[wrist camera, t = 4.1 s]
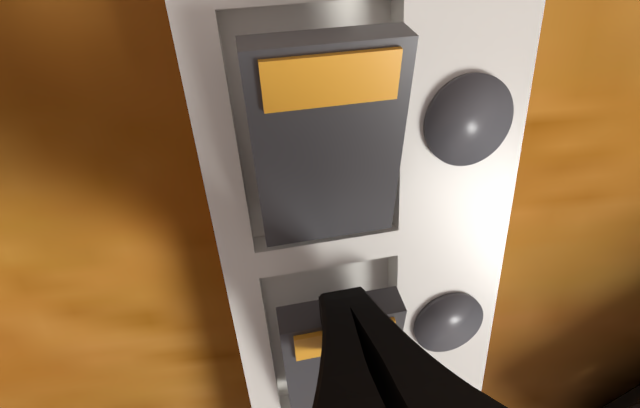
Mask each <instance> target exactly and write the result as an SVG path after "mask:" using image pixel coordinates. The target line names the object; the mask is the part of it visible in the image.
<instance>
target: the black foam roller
mask: <svg viewBox="0 0 640 408" xmlns="http://www.w3.org/2000/svg"><path fill="white" fill-rule="evenodd" d="M602 408H640V385H639V386H637V387H635V388H634V389H632V390H630V391H629V392H627V393H626V394H624V395H622V396H621V397H619V398H617V399H616V400H614V401H612V402H611V403H609V404H607V405H606V406H604V407H602Z"/></svg>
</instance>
